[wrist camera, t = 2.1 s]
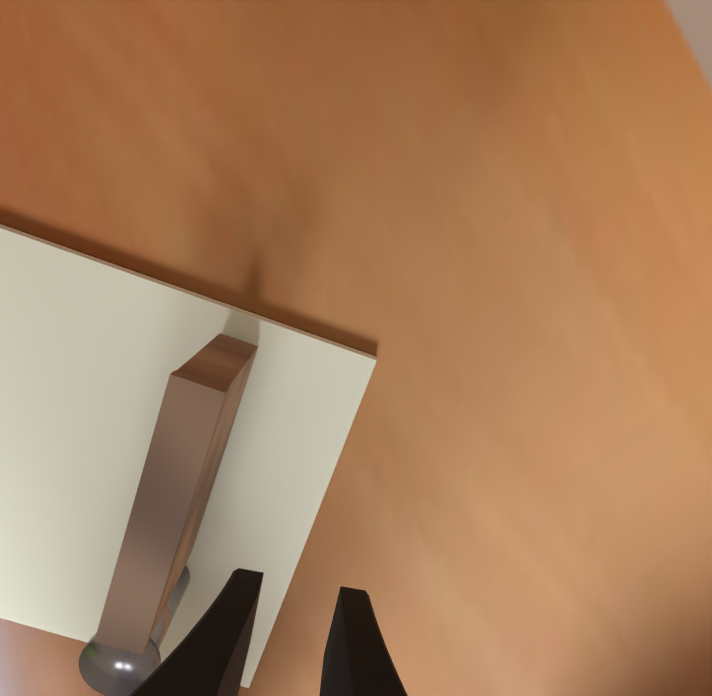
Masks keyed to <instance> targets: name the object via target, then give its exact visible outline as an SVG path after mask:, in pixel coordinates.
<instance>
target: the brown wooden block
mask: <svg viewBox="0 0 712 696" xmlns="http://www.w3.org/2000/svg"><path fill="white" fill-rule="evenodd" d="M257 349H258V346H256V345H253V344H250V343H247V342H244V341H241V340H238V339H235V338H233V337H230V336H227V335H224V334H221V333H220V334H218V335H217V336H216V337H215V338H214V339H213V340H211V341H210V342H209V343H208V344H207V345H206V346H204V347H203V348H202V349H201V350H200V351H199V352H197V353H196V354H195V355H194V356H193V357H192V358H190V359H189V360H188V361H187V362H186V363H185V364H183V365H182V366H181V367H180V368H179V369H178V370H177V371H176V370H174V371H173V372H172V373H171V374H170V376H169V379H168V383H167V386H166V390H165V393H164V397H163V400H162V404H161V407H160V411H159V414H158V418H157V422H156V425H155V429H154V432H153V436H152V439H151V443H150V446H149V450H148V453H147V457H146V460H145V464H144V467H143V471H142V474H141V478H140V482H139V485H138V489H137V492H136V496H135V499H134V503H133V506H132V510H131V513H130V517H129V520H128V524H127V527H126V531H125V535H124V538H123V542H122V545H121V549H120V552H119V556H118V559H117V563H116V566H115V570H114V573H113V577H112V580H111V584H110V587H109V591H108V595H107V598H106V602H105V605H104V609H103V612H102V616H101V619H100V623H99V626H98V630H97V633H96V637H95V640H94V642H97V643H100V644H104V645H108V646H111V647H115V648H118V649H122V650H125V651H129V652H132V653H136V654H139V655H143V654H144V652H145V650H146V648H147V646H148V643H149V639H150V636H151V634H152V632H153V630H154V628H155V626H156V624H157V622H158V620H159V618H160V616H161V614H162V612H163V610H164V608H165V606H166V604H167V602H168V600H169V597H170V595H171V593H172V591H173V589H174V587H175V585H176V583H177V581H178V579H179V577H180V575H181V573H182V571H183V569H184V567H185V565H186V563H187V561H188V559H189V557H190V554H191V552H192V549H193V546H194V543H195V540H196V537H197V534H198V531H199V528H200V525H201V521H202V518H203V515H204V512H205V509H206V506H207V503H208V500H209V497H210V494H211V491H212V488H213V485H214V482H215V478H216V475H217V472H218V469H219V466H220V463H221V460H222V457H223V454H224V451H225V448H226V445H227V442H228V439H229V435H230V432H231V429H232V426H233V423H234V420H235V417H236V414H237V411H238V408H239V405H240V402H241V399H242V396H243V392H244V389H245V386H246V383H247V380H248V377H249V374H250V371H251V368H252V365H253V362H254V359H255V356H256V353H257Z"/></svg>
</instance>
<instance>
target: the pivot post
mask: <svg viewBox="0 0 712 696" xmlns="http://www.w3.org/2000/svg"><path fill="white" fill-rule="evenodd" d="M189 581H190V572H189V570H188V568H187V566H186V565H185V567H184V569H183V571H182V573H181V575H180V577H179V579H178V581H177V583H176V585H175V587H174V589H173V591H172V593H171V595H170V597H169V600H168V602H167V604H166V606H165V608H164V610H163V612H162V614H161V616H160V618H159V620H158V622H157V624H156V626H155V628H154V630H153V632H152V634H151V636H150V639H149V643H148V646H147V648H146V650H145V652H144V654H143V655H139V654H136V653H132V652H129V651H125V650H122V649H118V648H115V647H111V646H108V645H104V644H100V643H97V642H94V640H95V637H96V633H97V632H96V633H95V634H94V635H93V636H92V637H91V638H90V640H89V641H88V643H87V645H86V646H85V648H84V649H83V651H82V653H81V655H80V658H79V669H80V673H81V675H82V677H83V679H84V680H85V681H86V683H87V684H88V685H89V686H90V687H92V688H93V689H94V690H96V691H98V692H99V693H101V694H104V695H107V696H129V695H130V694H131V693H132V692H133V691H134V690H135V689H136V688H137V687H138V686H140V685H141V684H142V683H143V682H144V681H145V680H146V679H147V678H148V677H149V676H150V675H151V674H152V673H153V672H154V671H155V670H156V669H157V668H158V667H159V665H160V663H161V656H160V651H159V648H160V646H161V643H162V641H163V639H164V637H165V635H166V632H167V630H168V628H169V626H170V624H171V621H172V619H173V617H174V615H175V613H176V610H177V608H178V606H179V604H180V602H181V600H182V597H183V595H184V593H185V591H186V589H187V586H188V584H189Z"/></svg>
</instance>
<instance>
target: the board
mask: <svg viewBox="0 0 712 696" xmlns="http://www.w3.org/2000/svg"><path fill="white" fill-rule="evenodd" d="M220 333H221V334H224V335H227V336H230V337H233V338H235V339H238V340H241V341H244V342H247V343H250V344H253V345H256V346H258V349H257V353H256V356H255V359H254V362H253V365H252V368H251V371H250V374H249V377H248V380H247V383H246V386H245V389H244V392H243V396H242V399H241V402H240V405H239V408H238V411H237V414H236V417H235V420H234V423H233V426H232V429H231V432H230V435H229V439H228V442H227V445H226V448H225V451H224V454H223V457H222V460H221V463H220V466H219V469H218V472H217V475H216V478H215V482H214V485H213V488H212V491H211V494H210V497H209V500H208V503H207V506H206V509H205V512H204V515H203V518H202V521H201V525H200V528H199V531H198V534H197V537H196V540H195V543H194V546H193V549H192V552H191V554H190V557H189V559H188V561H187V563H186V566H187V568H188V570H189V572H190V581H189V584H188V586H187V589H186V591H185V593H184V595H183V597H182V600H181V602H180V604H179V606H178V608H177V610H176V613H175V615H174V617H173V619H172V621H171V624H170V626H169V628H168V630H167V632H166V635H165V637H164V639H163V641H162V643H161V646H160V648H159V651H160V656H161V663H162V662H163V661H164V660H165V659H166V658H167V657H168V656H169V655H170V654H171V652H172V651H173V650H174V649H175V648H176V647H177V646H178V645H179V644H180V643H181V641H182V640H183V639H184V638H185V637H186V636H187V635H188V633H189V632H190V631H191V630H192V629H193V627H194V626H195V625H196V624H197V622H198V621H199V620H200V619H201V617H202V616H203V615H204V614H205V612H206V611H207V610H208V609H209V607H210V606H211V605H212V603H213V602H214V600H215V599H216V598H217V596H218V595H219V593H220V592H221V591H222V589H223V588H224V586H225V584H226V583H227V581H228V580H229V578H230V576H231V574H232V572H233V571H234V570H236V569H238V568H241V569H247V570H252V571H258V572H264V575H263V580H262V585H261V590H260V595H259V600H258V606H257V611H256V616H255V621H254V626H253V631H252V636H251V641H250V646H249V650H248V654H247V658H246V663H245V667H244V671H243V675H242V680H241V684H240V686H243V687H246V688H249V686H250V684H251V681H252V679H253V676H254V674H255V671H256V668H257V666H258V663H259V661H260V658H261V656H262V653H263V651H264V648H265V645H266V643H267V640H268V638H269V635H270V633H271V630H272V628H273V625H274V622H275V620H276V617H277V615H278V612H279V610H280V607H281V605H282V602H283V599H284V597H285V594H286V592H287V589H288V587H289V584H290V581H291V579H292V576H293V574H294V571H295V569H296V566H297V564H298V561H299V558H300V556H301V553H302V551H303V548H304V546H305V543H306V541H307V538H308V535H309V533H310V530H311V528H312V525H313V523H314V520H315V518H316V515H317V512H318V510H319V507H320V505H321V502H322V500H323V497H324V494H325V492H326V489H327V487H328V484H329V482H330V479H331V477H332V474H333V471H334V469H335V466H336V464H337V461H338V459H339V456H340V454H341V451H342V448H343V446H344V443H345V441H346V438H347V436H348V433H349V430H350V428H351V425H352V423H353V420H354V418H355V415H356V413H357V410H358V407H359V405H360V402H361V400H362V397H363V395H364V392H365V390H366V387H367V384H368V382H369V379H370V377H371V374H372V372H373V369H374V367H375V364H376V361H377V358H376V356H373V355H371V354H368V353H365V352H362V351H359V350H356V349H354V348H351V347H348V346H345V345H342V344H339V343H337V342H334V341H331V340H328V339H325V338H322V337H320V336H317V335H314V334H311V333H308V332H305V331H302V330H300V329H297V328H294V327H291V326H288V325H285V324H283V323H280V322H277V321H274V320H271V319H268V318H266V317H263V316H260V315H257V314H254V313H251V312H249V311H246V310H243V309H240V308H237V307H234V306H232V305H229V304H226V303H223V302H220V301H217V300H214V299H212V298H209V297H206V296H203V295H200V294H197V293H195V292H192V291H189V290H186V289H183V288H180V287H178V286H175V285H172V284H169V283H166V282H163V281H161V280H158V279H155V278H152V277H149V276H146V275H144V274H141V273H138V272H135V271H132V270H129V269H127V268H124V267H121V266H118V265H115V264H112V263H109V262H107V261H104V260H101V259H98V258H95V257H92V256H90V255H87V254H84V253H81V252H78V251H75V250H73V249H70V248H67V247H64V246H61V245H58V244H56V243H53V242H50V241H47V240H44V239H41V238H39V237H36V236H33V235H30V234H27V233H24V232H22V231H19V230H16V229H13V228H10V227H7V226H4V225H2V224H0V618H3V619H6V620H10V621H13V622H17V623H20V624H24V625H27V626H31V627H34V628H38V629H41V630H45V631H48V632H52V633H55V634H59V635H63V636H66V637H70V638H73V639H77V640H80V641H84V642H87V643H88V641H89V640H90V638H91V637H92V636H93V635H94V634H95V633H96V632H97V630H98V626H99V623H100V619H101V616H102V612H103V609H104V605H105V602H106V598H107V595H108V591H109V587H110V584H111V580H112V577H113V573H114V570H115V566H116V563H117V559H118V556H119V552H120V549H121V545H122V542H123V538H124V535H125V531H126V527H127V524H128V520H129V517H130V513H131V510H132V506H133V503H134V499H135V496H136V492H137V489H138V485H139V482H140V478H141V474H142V471H143V467H144V464H145V460H146V457H147V453H148V450H149V446H150V443H151V439H152V436H153V432H154V429H155V425H156V422H157V418H158V414H159V411H160V407H161V404H162V400H163V397H164V393H165V390H166V386H167V383H168V379H169V376H170V374H171V373H172V372H173V371H174V370H176V371H177V370H178V369H179V368H180V367H181V366H182V365H183V364H185V363H186V362H187V361H188V360H189V359H190V358H192V357H193V356H194V355H195V354H196V353H197V352H199V351H200V350H201V349H202V348H203V347H204V346H206V345H207V344H208V343H209V342H210V341H211V340H213V339H214V338H215V337H216V336H217V335H218V334H220Z"/></svg>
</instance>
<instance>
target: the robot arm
mask: <svg viewBox="0 0 712 696" xmlns="http://www.w3.org/2000/svg"><path fill="white" fill-rule="evenodd" d="M263 575H264V572H258V571H252V570H247V569H241V568H238V569H236V570H234V571H233V572H232V574H231V576H230V578H229V580H228V581H227V583H226V584H225V586H224V588H223V589H222V591H221V592H220V593H219V595H218V596H217V598H216V599H215V600H214V602H213V603H212V605H211V606H210V607H209V609H208V610H207V611H206V612H205V614H204V615H203V616H202V617H201V619H200V620H199V621H198V622H197V624H196V625H195V626H194V627H193V629H192V630H191V631H190V632H189V633H188V635H187V636H186V637H185V638H184V639H183V640H182V641H181V643H180V644H179V645H178V646H177V647H176V648H175V649H174V650H173V651H172V652H171V654H170V655H169V656H168V657H167V658H166V659H165V660H164V661H163V662H162V663H161V664H160V665H159V667H158V668H157V669H156V670H155V671H154V672H153V673H152V674H151V675H150V676H149V677H148V678H147V679H146V680H145V681H144V682H143V683H142V684H141V685H140V686H138V687H137V688H136V689H135V690H134V691H133V692H132V693H131V694H130V695H129V696H237V694H238V691H239V688H240V684H241V680H242V675H243V671H244V667H245V663H246V658H247V654H248V650H249V646H250V641H251V636H252V631H253V626H254V621H255V616H256V611H257V606H258V600H259V595H260V590H261V585H262V580H263ZM320 696H408V695H407V693H406V691H405V689H404V687H403V685H402V683H401V681H400V678H399V676H398V674H397V671H396V669H395V667H394V664H393V662H392V660H391V657H390V655H389V653H388V650H387V648H386V645H385V643H384V640H383V637H382V635H381V632H380V629H379V626H378V623H377V621H376V618H375V615H374V611H373V608H372V605H371V602H370V598H369V595H368V594H367V592H366V591H364V590H358V589H353V588H347V587H342V586H341V587H340V591H339V595H338V599H337V604H336V608H335V612H334V616H333V620H332V624H331V628H330V632H329V636H328V641H327V645H326V649H325V653H324V660H323V669H322V678H321V688H320Z"/></svg>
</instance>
